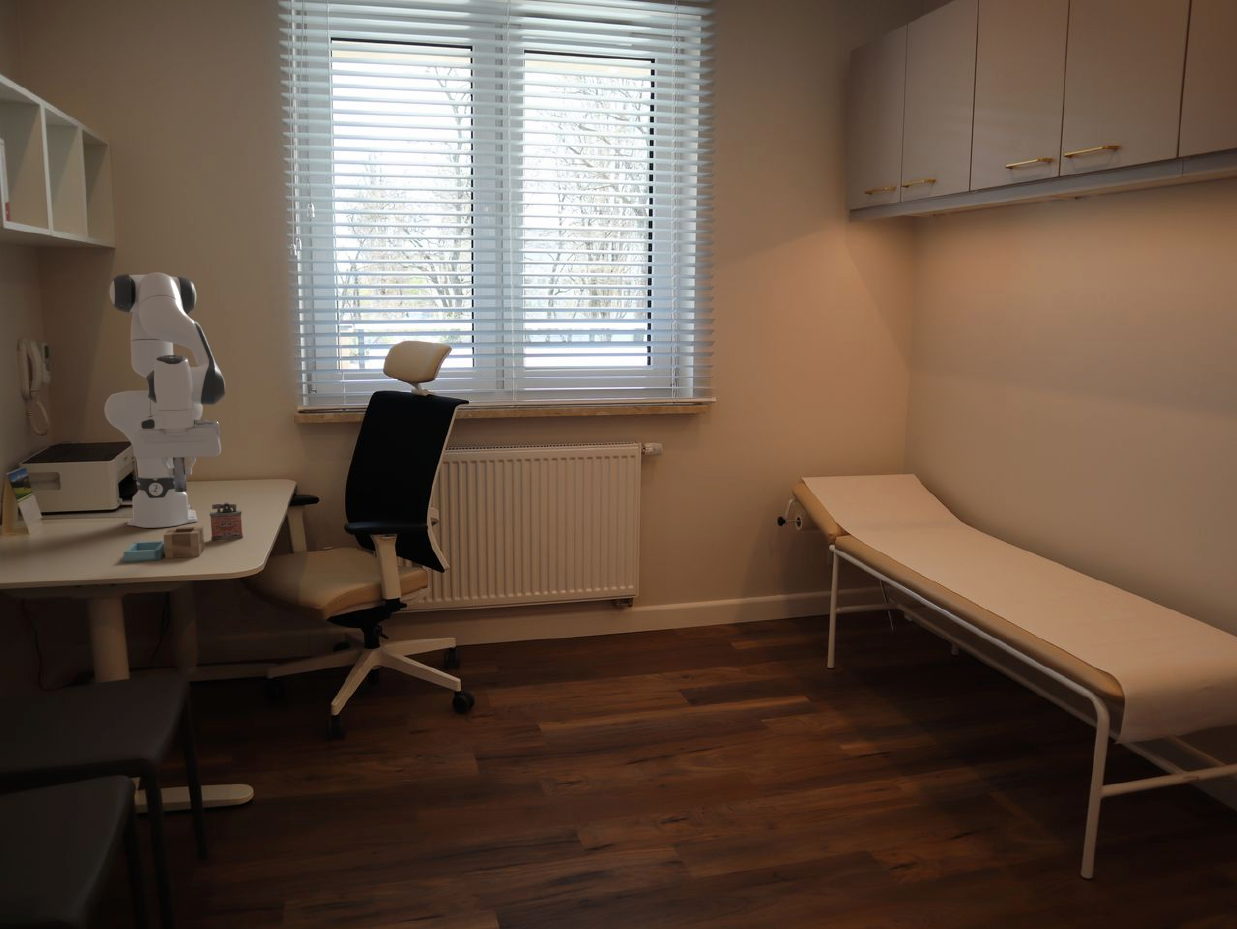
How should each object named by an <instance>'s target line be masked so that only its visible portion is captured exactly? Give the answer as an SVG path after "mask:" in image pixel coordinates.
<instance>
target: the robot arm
mask: <svg viewBox="0 0 1237 929" xmlns="http://www.w3.org/2000/svg"><path fill="white" fill-rule="evenodd" d="M109 298H110V300H111V303H112V305H113V308H115V309H116V310H118V311H120V312H122V313H123V312H124V313H126V314H128V313H130V312H131V313H132V317H131V325H130V354H131V355H130V357H131V358H130V360H131V367H132V369H133V370H132V371H134V372H135V374H137V375H139V376H141V377H142V378H145V379H146V380H147V390H146V389H145V390H125V391H121V392H117V393H115V392H114V393H113V394H112V393H111V395H110V396H109V397H108V398H107V399H106V401H105V403H104V409H103V410H104V416H105V418H106V420H107V421H108V423H109V424H110V425H111V426H112V427H114V429H115V428H116V429H117V430H119V431H120V432H121V433H122V434H124V436H125V437H126V438H127V439H128V440H129V442H130V444H131V446H132V448H133V449H132V450H133V451H132V452H133V456H134V457H135V459H136V466H137V468H136V469H137V477H136V487H137V492H136V493H135V494H134V495H133V496H132V519H129V520H128V521H127V524H126V525H127V526H133V527H134V526H135V527H138V528H144V529H145V528H149V529H150V528H151V529H152V528H153V529H154V528H168V527H174V526H181V525H185V524H191V523H195V522H196V523H197V522H198V517H197V512H196V510H195V509H192V506H191V505H190V504H189V500H188V494H187V491H186V492H175V486H174V472H173V458H179V457H185V458H188V461H189V463H190V464H189V465H188V466H187V467H186V466H185V475H186V476H192V475H193V466H194V465H195V464H196V461H197V458H202V457H205V458H206V457H218V456H219V455H220V454H221V453H222V444H221V439H220V436H221V433H222V428H221V424H220V423H219V422H218V421H215V420H213V419H207V420H204V419H201V418H202V416H203V411H204V406H203V405H208V406H209V405H211V406H215V405H216V404H217V403H218V402H220V401H221V400H222V399H223V398H224V397H225V395H226V394H225V393H226V380H225V378H224V376H223V374H222V372H221V369H220V367H219V366H218V364H217V362H216V360H215V356H214V355H213V352H212V350H211V348H210V344H209V342H208V340H207V337H206V335H205V333H204V331H203V328H202V327H201V325H200V324H199V322H198V321H196V320H194V319H192V318H191V317H190V316H189V315H188V314H189V313H191V312H192V311H193V310H194V308H195V306H196V302H197V292H196V288H195V285H194V283H193V282H192V280H190V279H189V278H186V277H182V276H177V277H176V276H171V275H168V274H166V273H163V272H159V271H158V272H151V273H148V274H130V275H129V273H127V274H125V273H124V274H119V275H116V276H115V277H114V278H112V282H111V284H110V286H109ZM174 344H176V345H179V346H182V347H185V348H187V349H188V350H190V351H191V352H192V355H193V357H194V359H195V362H196V365H197V366H192V367H191V366H190V362H189V360H188V358H187V357H185V356H183V355H177V354H175V355H174Z"/></svg>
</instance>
